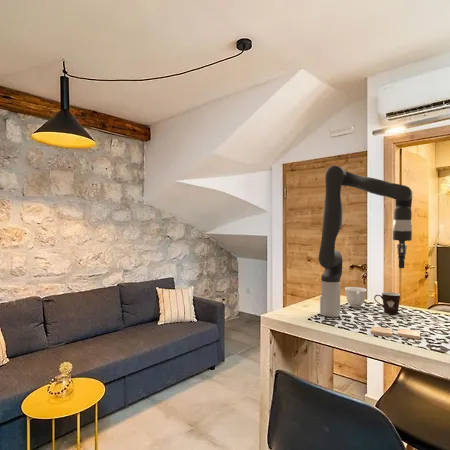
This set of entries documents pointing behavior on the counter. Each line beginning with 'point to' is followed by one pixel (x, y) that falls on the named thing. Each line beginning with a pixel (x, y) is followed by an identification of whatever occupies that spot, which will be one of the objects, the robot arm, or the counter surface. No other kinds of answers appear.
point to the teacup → (355, 296)
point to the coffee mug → (390, 302)
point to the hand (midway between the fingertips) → (401, 267)
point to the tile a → (381, 331)
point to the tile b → (409, 333)
